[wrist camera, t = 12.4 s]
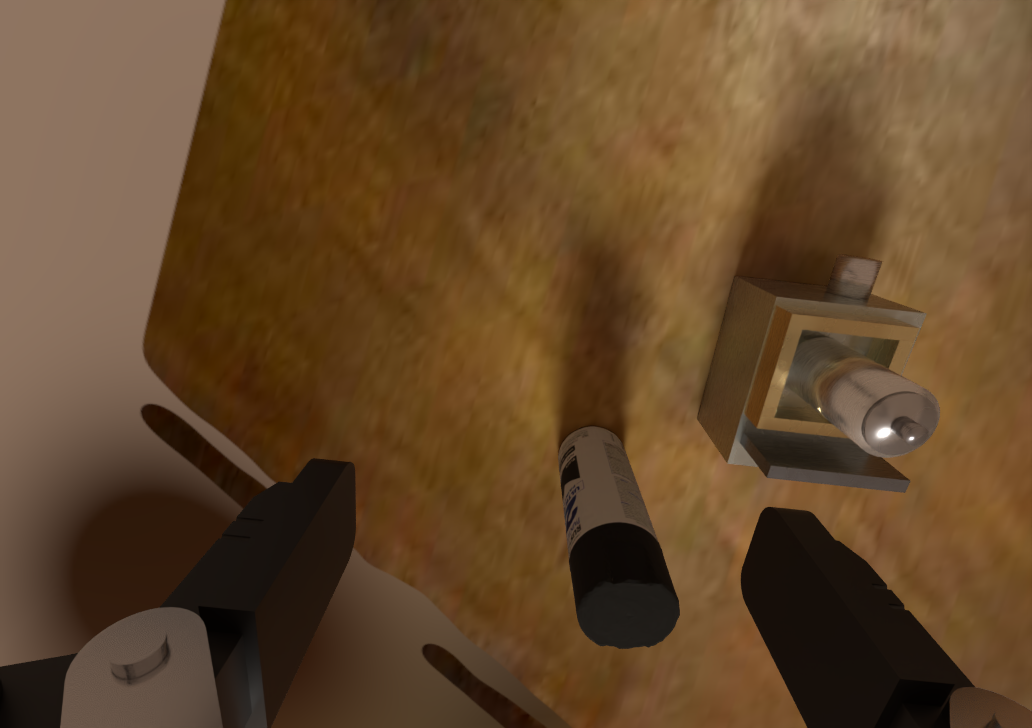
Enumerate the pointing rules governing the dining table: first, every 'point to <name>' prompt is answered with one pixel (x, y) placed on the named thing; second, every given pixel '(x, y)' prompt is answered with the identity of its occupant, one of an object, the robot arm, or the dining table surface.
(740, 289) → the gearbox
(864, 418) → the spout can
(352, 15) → the dining table surface
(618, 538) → the spray can
